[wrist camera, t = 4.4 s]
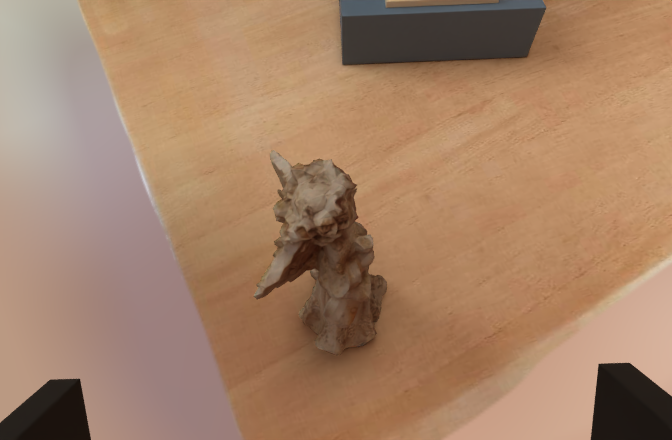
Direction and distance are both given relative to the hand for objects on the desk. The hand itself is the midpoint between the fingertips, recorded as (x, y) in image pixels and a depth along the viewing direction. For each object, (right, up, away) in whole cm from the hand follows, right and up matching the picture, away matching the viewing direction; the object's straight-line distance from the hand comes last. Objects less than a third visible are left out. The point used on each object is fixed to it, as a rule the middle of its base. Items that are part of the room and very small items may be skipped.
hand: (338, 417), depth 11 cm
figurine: (0, -1, +17) cm, 17 cm away
